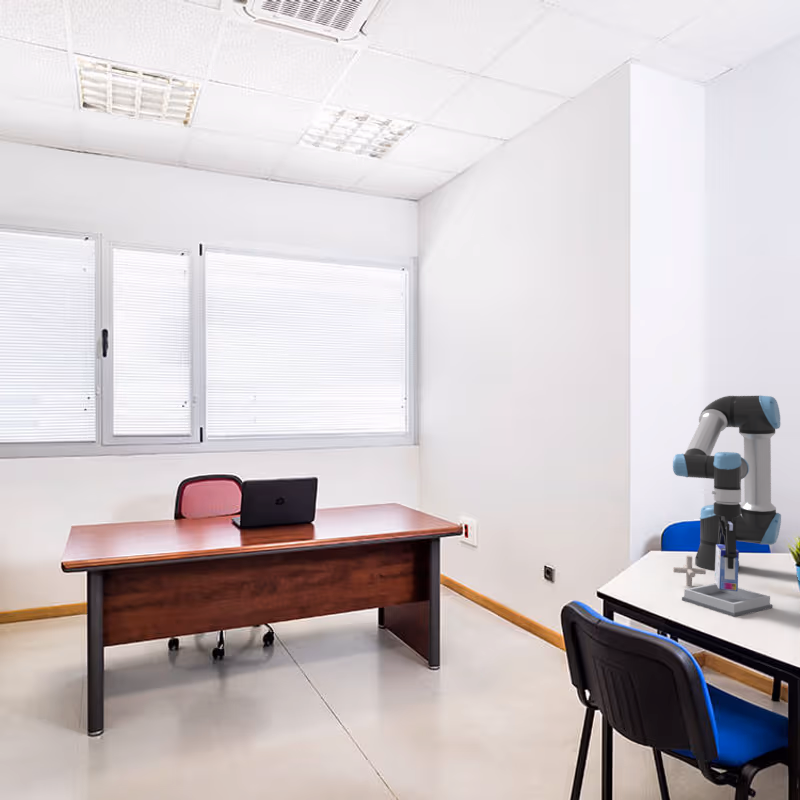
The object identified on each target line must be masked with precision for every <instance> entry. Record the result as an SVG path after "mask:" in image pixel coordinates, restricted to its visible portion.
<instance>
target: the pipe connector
mask: <svg viewBox="0 0 800 800" xmlns="http://www.w3.org/2000/svg"><path fill="white" fill-rule="evenodd" d="M685 558H686V559H685V561H686V562H685V563H686V564H684V565H683V567H679V566H678V567H677V566H673V567H672V568H673V569H672V571H673V573H678V574H686V576H685V578H686V579H685V585H686V586H687V587H693V578H695V577H696V575H706V568H698V567H697V568H696V567H695V568H694V567H693V556H692V555H686V557H685Z"/></svg>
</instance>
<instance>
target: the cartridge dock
mask: <svg viewBox="0 0 800 800" xmlns="http://www.w3.org/2000/svg"><path fill="white" fill-rule="evenodd" d="M683 591H684V595H683V596H681V600H682V601H683V602H685V603H690V604H693V605H696V606H699V607H702V608H704V609H705V608H706V609H708V610H711V611H715V612H718V613H721V614H724V615H728V616H729V617H730V616H731V617H733V618H735V617H740V616H741V617H742V616H744V615H748V614H749V615H750V614H753V613H757V612H762V611H767V610H769V609H773V606H774V605H773V604H771V596H770V595H767V594H764V593H759V592H756V591H752V590H750V589H749V590H748V589H745V588H742V587H738V591H730V590H721V589H719V588H718V586H717V585H716V583H715V582H714V583H710V584H705V585H699V586H694V587H689V588H685V589H684V590H683Z"/></svg>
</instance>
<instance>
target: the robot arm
mask: <svg viewBox="0 0 800 800" xmlns="http://www.w3.org/2000/svg"><path fill="white" fill-rule="evenodd" d="M698 422H699V423H698V425H697V428H696V430H695V431H694V434H693V437H692V439H691V440H690V442H689V443H688V447H687V448H686V451H685V453H676V454H675V455H674V456H673V460H672V470H673V474H674V475H675V476H676V477H677V476H678V477H685V478H694V479H695V478H696V479H697V478H699V479H711V480H713V490H712V491H711V494H712V495H713V500H714V503H713V504H708V505H704V506H702V507H701V509H700V517H699V520H700V521H699V522H700V523H699V525H700V526H699V527H700V528H699V529H700V534H699V538H700V540H699V543H700V544H699V546H698V549H697V552H696V555H695V558H694V564H695V566H697V567H700V568H701V569H705V570H706V569H707V570H712V571H715V557H716V544H724V545H725V552H726V555H723V557H724V558H725V579H732V580H735V557H737V553H736V549H737V542H745V543H753V544H759V545H774V544H775V543H776V542H777V540H778V538H779V536H780V535H779V534H780V530H781V529H780V528H781V524H782V514H781V513H779V512H777V507H776V506H775V505H774V504H773V503H772V483H771V482H772V475H771V474H772V470H771V469H772V468H771V466H772V465H771V464H772V463H771V461H772V459H771V458H772V457H771V456H772V455H771V453H772V452H771V451H772V449H771V446H772V445H771V438H772V437H773V436H775V435H776V430H778V429H780V428H781V413H780V408H779V404H778V401H777V399H776V398H775V397H774V396H772V395H771V396H770V395H769V396H768V395H761V394H760V395H726V396H723V397H719V398H717V399H715V400H713V401H712V402H709V404H708V405H706V406H705V408H703V409H702V410H701V413H700V415H699V417H698ZM726 428H738V433H739V434H740V435H741V437H743V457H742V455H741V454H740V453H738V452H733V451H732V452H730V451H719V452H718V451H717V452H715V454H713V455H712V452H713V450H714V448H715V446H716V443H717V441H718V439H719V437H720V434H721V432H723V431H724V430H726ZM742 479H743V481H744V482H743V485H744V486H743V489H744V491H743V492H744V493H743V494H744V501H743V502H742V488H741V487H742V486H741V484H742ZM741 502H742V503H741ZM740 503H741V504H740ZM730 552H732V553H730ZM739 569H740V562H739V563H738V570H739Z"/></svg>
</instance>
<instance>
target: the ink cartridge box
mask: <svg viewBox="0 0 800 800" xmlns="http://www.w3.org/2000/svg"><path fill="white" fill-rule="evenodd" d="M730 553H732V552H730ZM736 553H737V557H735V580H732V579H725V558H724V557H723V555H726V552H725V545H724V544H716V557H715V570H714V583H716V585H717V586H718V588H719V589H721V590H730V591H738V588H739V569H738V563H739V564H740V560H739V558H740V556H739V555H740V551H739V549H737V548H736Z"/></svg>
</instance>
